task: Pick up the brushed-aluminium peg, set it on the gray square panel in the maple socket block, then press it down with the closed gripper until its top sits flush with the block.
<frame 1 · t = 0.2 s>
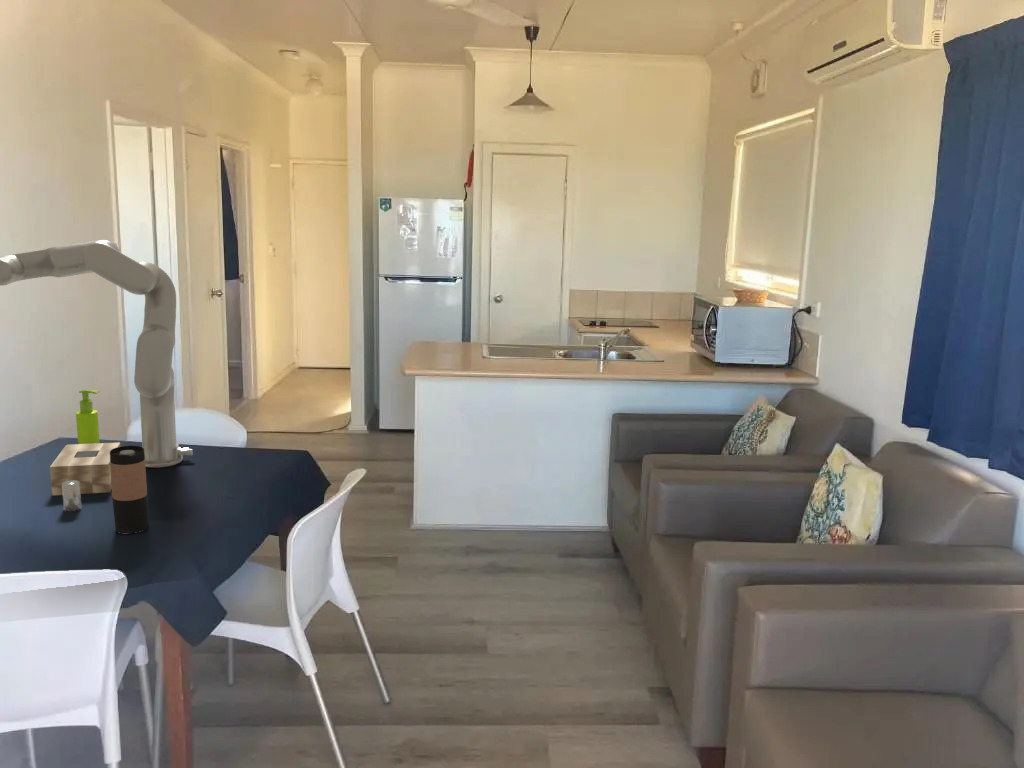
soap dispenser: (91, 453, 251), on the table
peg: (72, 509, 207), on the table
gray square panel: (86, 455, 225), point 8 cm above the table, slide at 0.0 cm
travel mug: (132, 529, 197), on the table
socket block: (88, 481, 227), on the table
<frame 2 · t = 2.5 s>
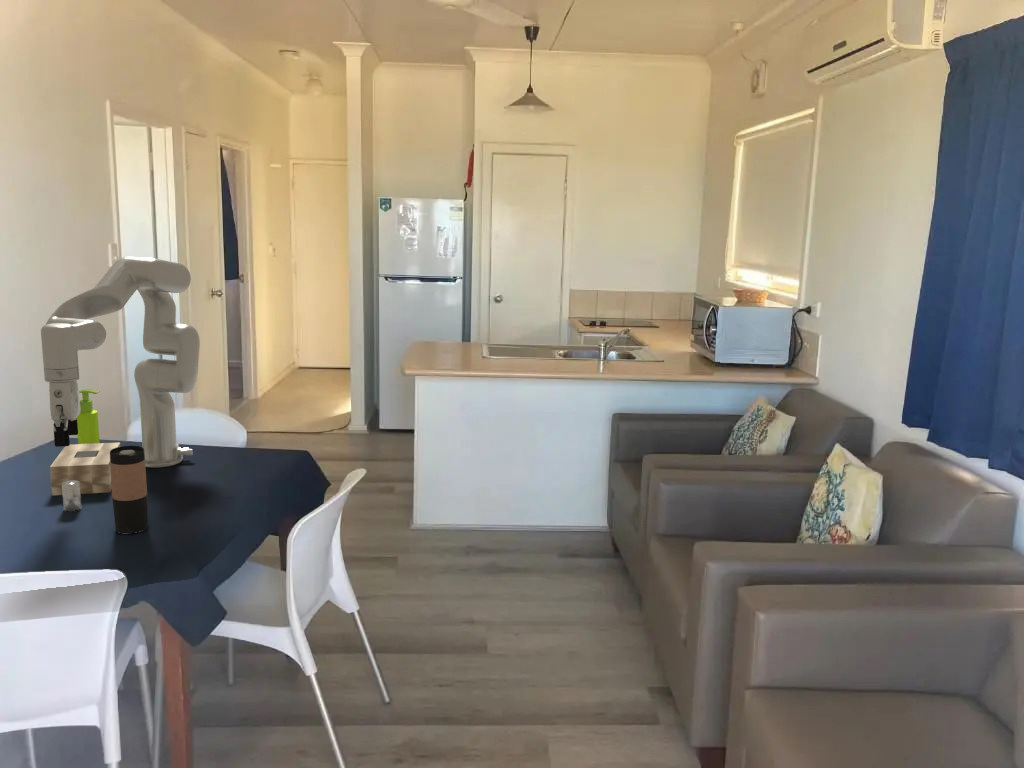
hand: (66, 440, 203), 18 cm above the table, fingers open, 9 cm apart
nothing on the table moved.
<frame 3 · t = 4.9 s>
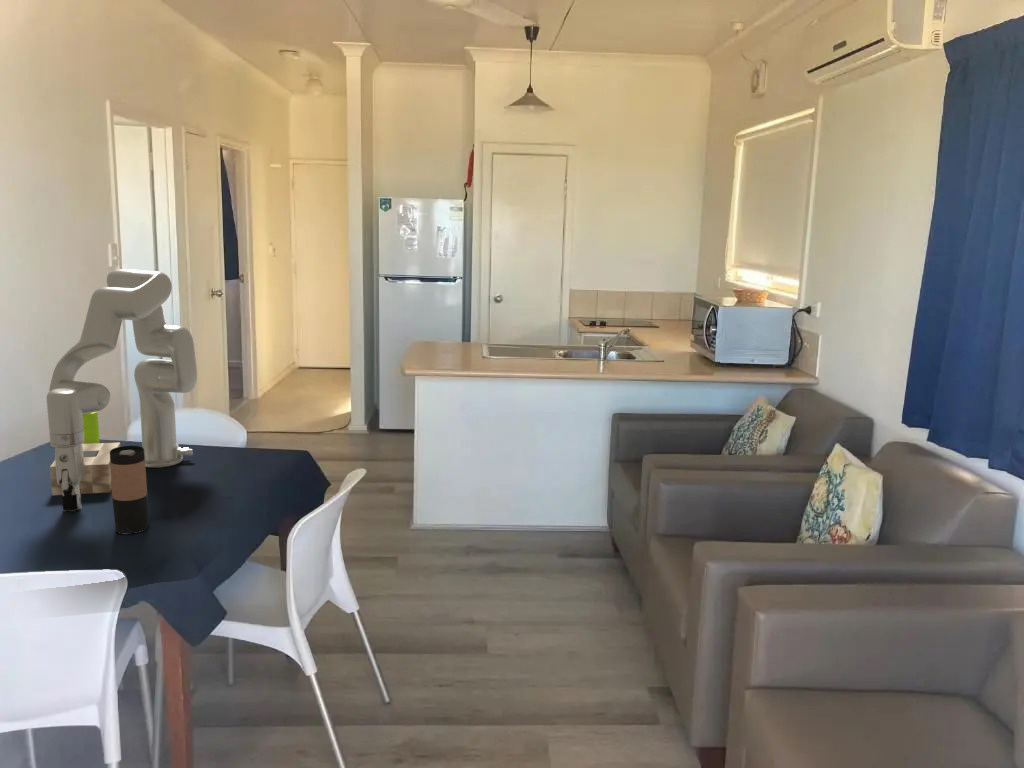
hand: (72, 505, 207), 1 cm above the table, fingers closed on peg, 4 cm apart
peg: (72, 508, 207), on the table, touching gripper
everything else where it was.
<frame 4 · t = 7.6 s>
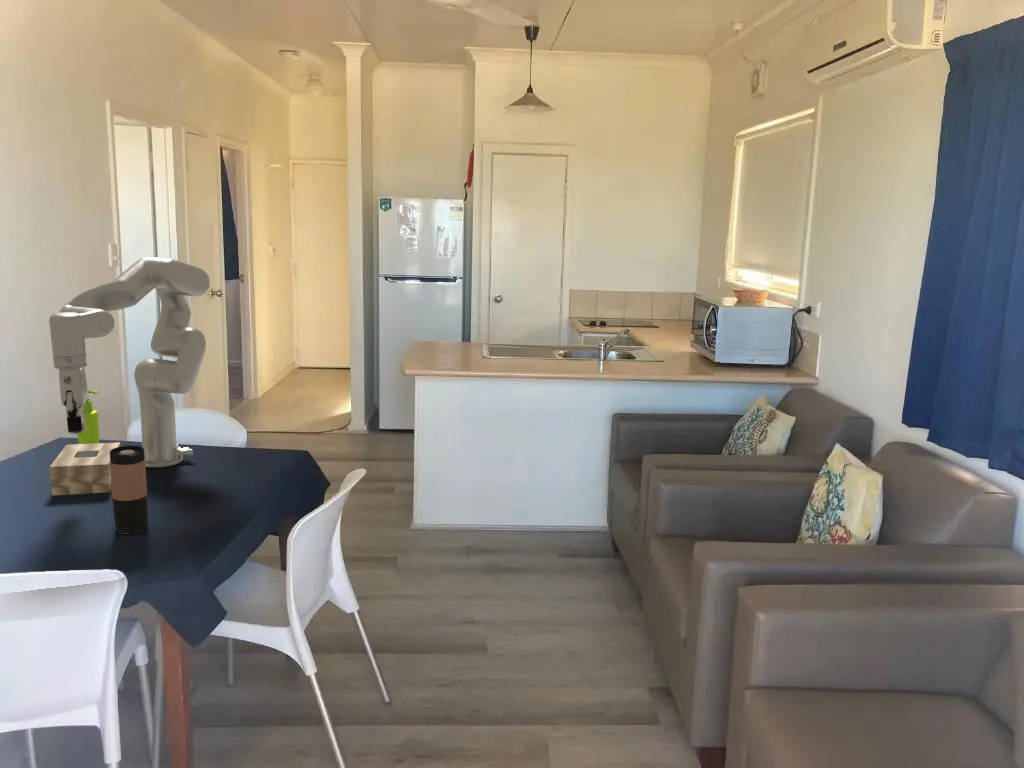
hand: (76, 427, 213), 19 cm above the table, fingers closed on peg, 4 cm apart
peg: (77, 431, 213), point 18 cm above the table, touching gripper
everything else where it was.
when the fingers open (10 cm above the table, at t = 10.4 s): peg drops 1 cm, resting on gray square panel.
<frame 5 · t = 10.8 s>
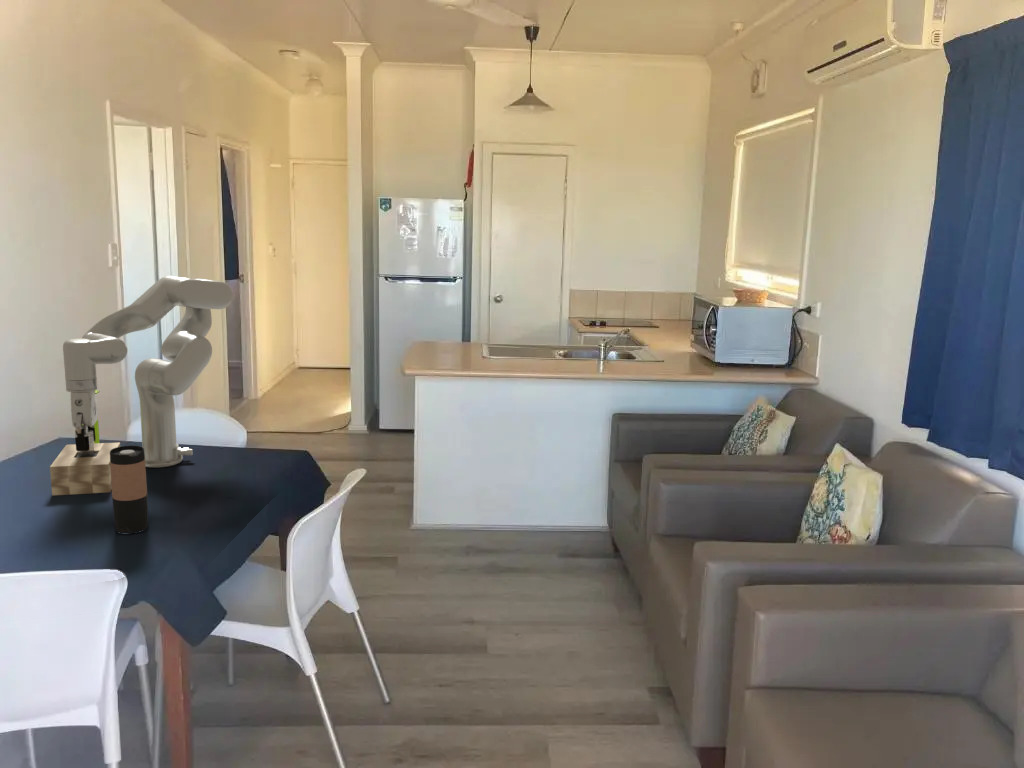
hand: (86, 445, 225), 10 cm above the table, fingers open, 8 cm apart
peg: (86, 456, 225), point 7 cm above the table, touching gray square panel
gray square panel: (86, 457, 225), point 7 cm above the table, slide at 0.6 cm, touching peg
everything else where it was.
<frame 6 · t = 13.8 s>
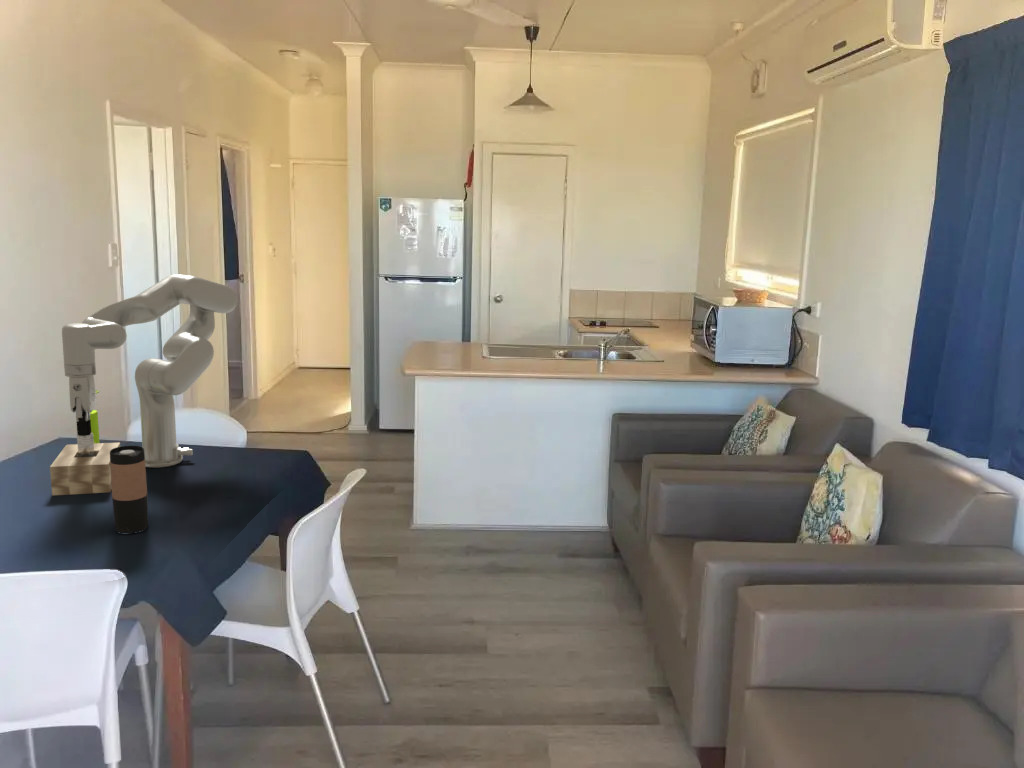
hand: (84, 434, 224), 14 cm above the table, fingers closed
peg: (86, 458, 225), point 7 cm above the table, touching gripper, gray square panel
gray square panel: (87, 459, 226), point 6 cm above the table, slide at 1.3 cm, touching peg
everything else where it was.
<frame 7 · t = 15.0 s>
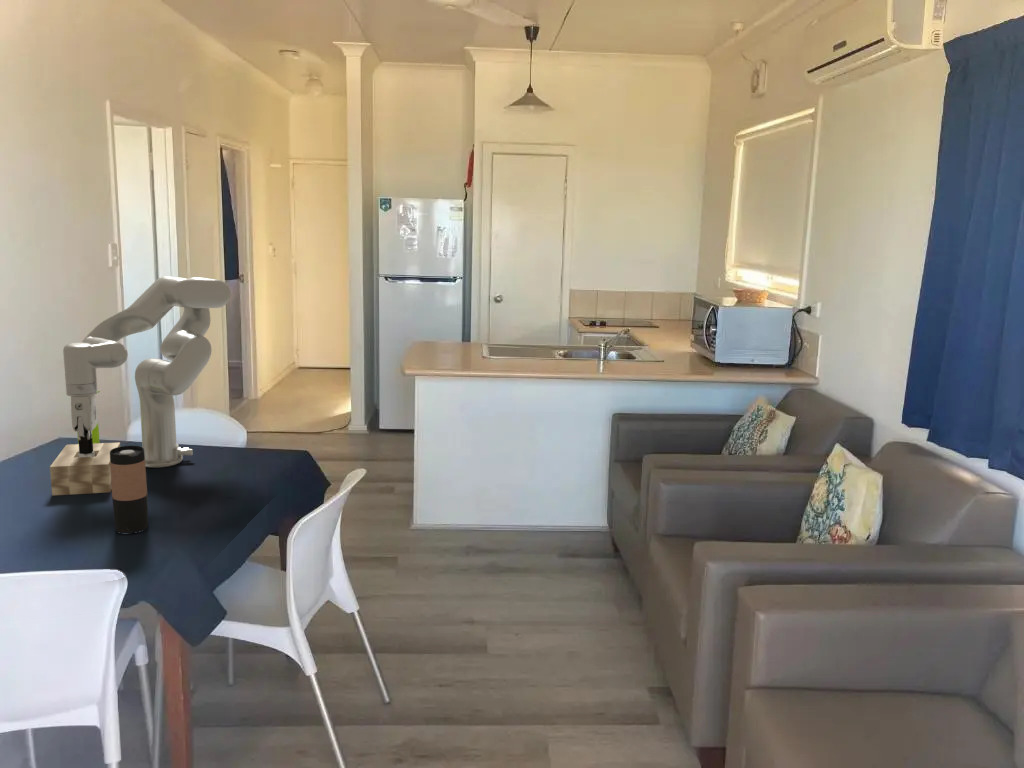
hand: (86, 452, 225), 8 cm above the table, fingers closed
peg: (88, 476, 227), point 1 cm above the table, touching gripper, gray square panel
gray square panel: (88, 477, 227), point 1 cm above the table, slide at 6.6 cm, touching peg
everything else where it was.
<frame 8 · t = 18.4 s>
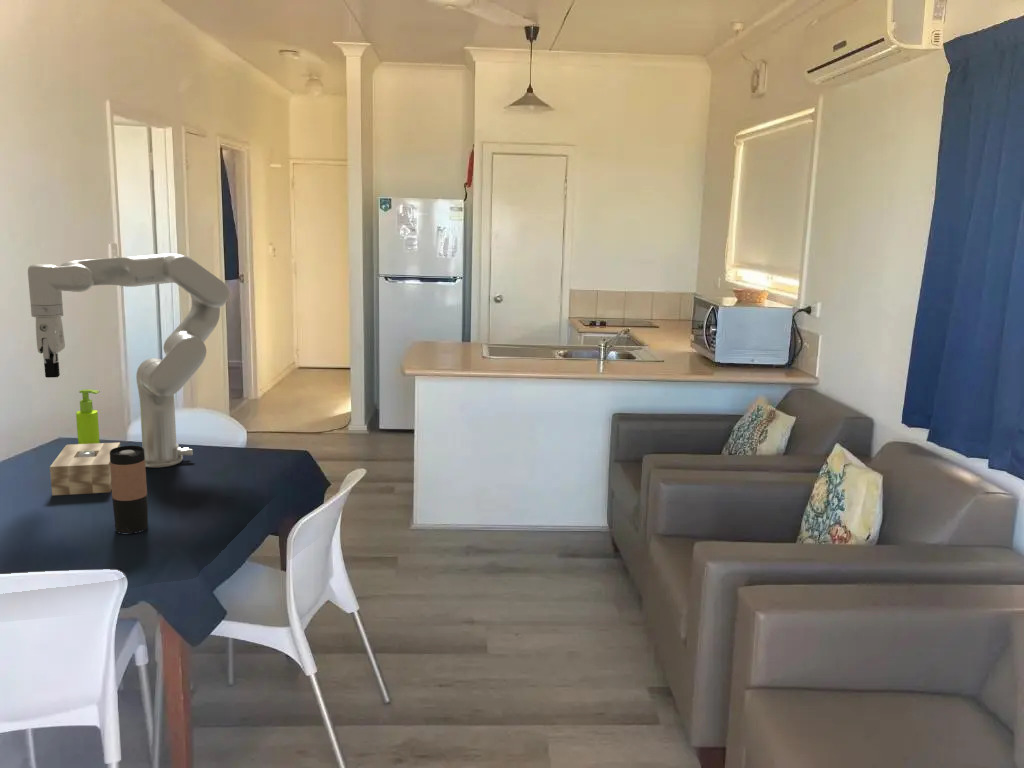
hand: (52, 376, 223), 29 cm above the table, fingers closed
peg: (88, 476, 227), point 1 cm above the table, touching gray square panel
everything else where it was.
at the end: gray square panel slide at 6.6 cm; peg 0.0 cm off-centre on the socket block, point 1.4 cm above the socket block's base; peg tilted 0° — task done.
